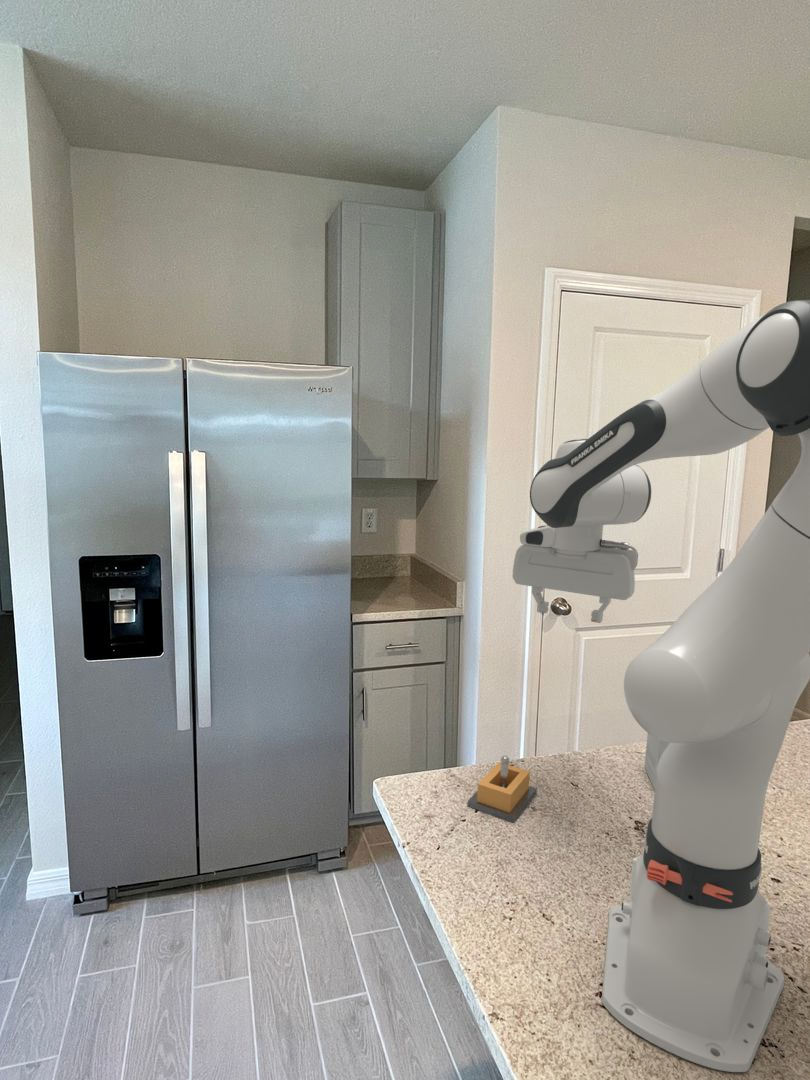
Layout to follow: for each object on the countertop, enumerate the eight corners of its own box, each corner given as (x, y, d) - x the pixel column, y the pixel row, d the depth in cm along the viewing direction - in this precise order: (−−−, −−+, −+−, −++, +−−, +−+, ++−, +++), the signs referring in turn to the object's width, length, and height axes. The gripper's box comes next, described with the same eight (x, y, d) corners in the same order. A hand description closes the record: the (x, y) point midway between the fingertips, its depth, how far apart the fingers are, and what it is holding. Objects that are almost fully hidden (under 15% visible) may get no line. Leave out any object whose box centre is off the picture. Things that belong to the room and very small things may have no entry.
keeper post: (513, 822, 99) (516, 776, 98) (467, 806, 103) (469, 761, 102) (536, 793, 108) (539, 751, 107) (492, 779, 112) (495, 738, 111)
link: (509, 812, 100) (510, 794, 100) (477, 801, 103) (477, 784, 103) (528, 788, 108) (530, 771, 107) (498, 778, 110) (498, 762, 110)
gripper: (643, 541, 105) (635, 623, 107) (524, 529, 115) (520, 603, 117) (634, 546, 99) (627, 632, 101) (511, 532, 110) (506, 611, 112)
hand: (568, 616), depth 110 cm, fingers open, 8 cm apart
